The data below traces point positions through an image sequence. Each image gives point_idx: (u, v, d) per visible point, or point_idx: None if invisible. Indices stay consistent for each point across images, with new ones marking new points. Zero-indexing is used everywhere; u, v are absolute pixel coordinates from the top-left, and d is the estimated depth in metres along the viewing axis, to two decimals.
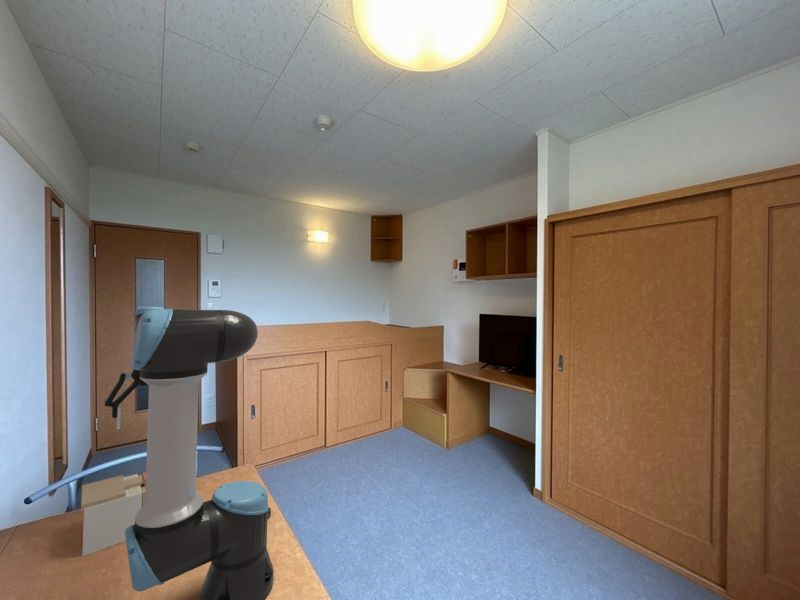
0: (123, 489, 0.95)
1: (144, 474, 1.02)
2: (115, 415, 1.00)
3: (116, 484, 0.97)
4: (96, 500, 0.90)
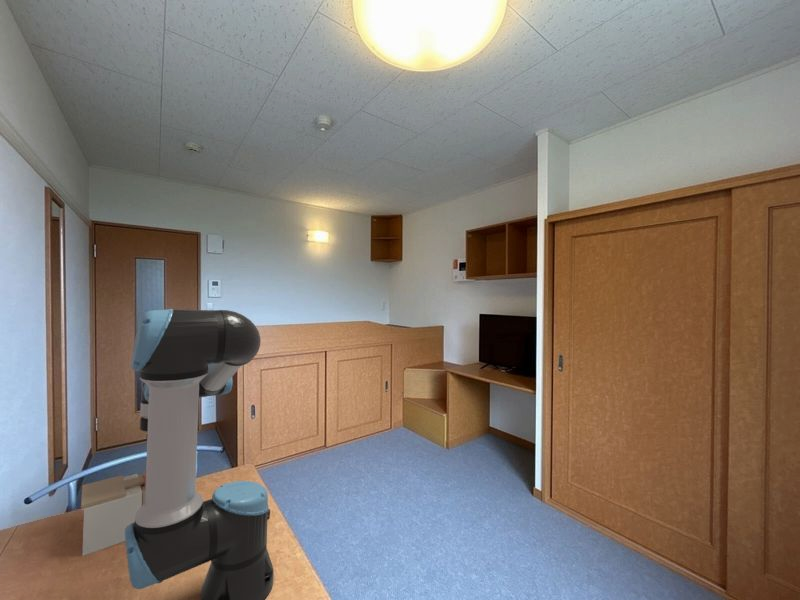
0: (123, 489, 0.95)
1: (144, 474, 1.02)
2: None
3: (116, 484, 0.97)
4: (96, 500, 0.90)
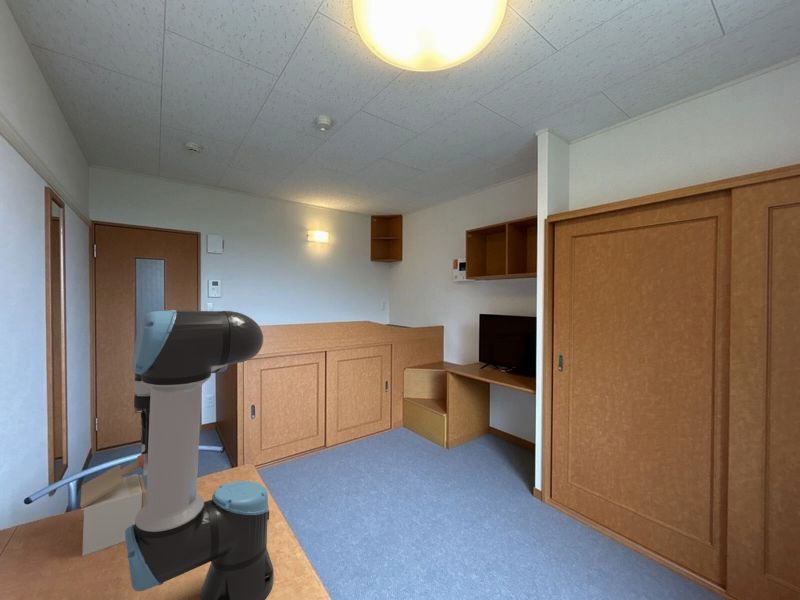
0: (119, 478, 0.94)
1: (138, 458, 1.01)
2: (143, 452, 1.04)
3: (113, 475, 0.97)
4: (94, 496, 0.89)
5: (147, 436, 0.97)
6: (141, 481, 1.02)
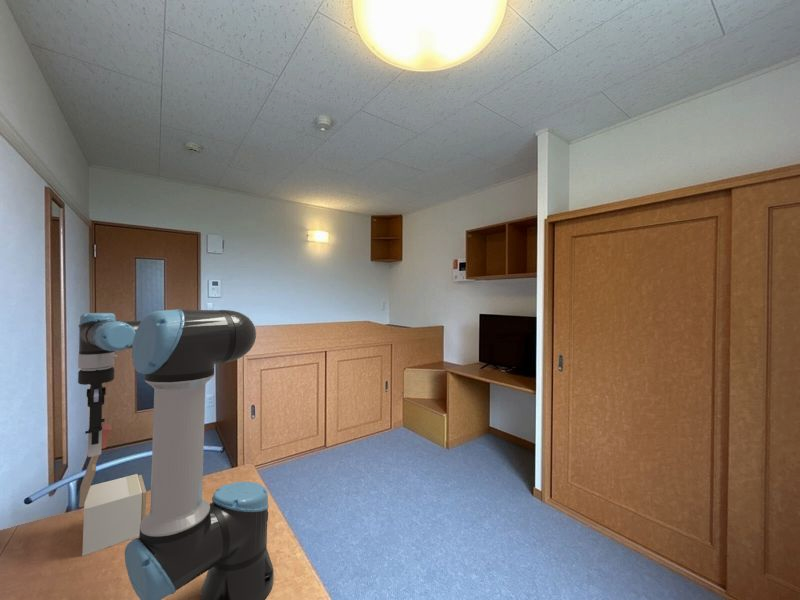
0: (91, 468, 0.91)
1: None
2: None
3: (89, 467, 0.94)
4: (83, 494, 0.88)
5: (90, 414, 0.89)
6: (141, 481, 1.02)
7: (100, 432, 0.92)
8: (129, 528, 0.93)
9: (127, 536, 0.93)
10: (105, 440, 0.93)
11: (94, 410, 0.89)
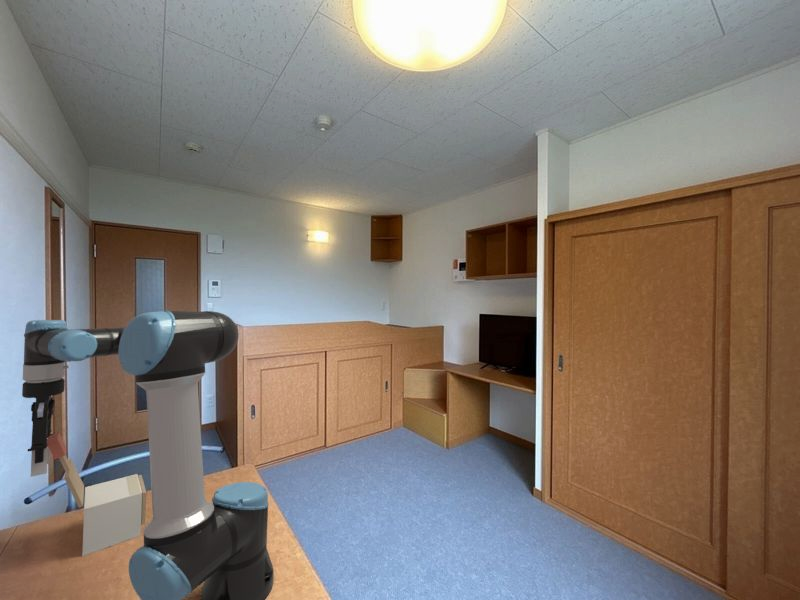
0: None
1: None
2: None
3: None
4: None
5: (33, 430, 0.82)
6: (141, 481, 1.02)
7: (45, 449, 0.85)
8: (129, 528, 0.93)
9: (127, 536, 0.93)
10: (59, 449, 0.87)
11: (38, 426, 0.82)
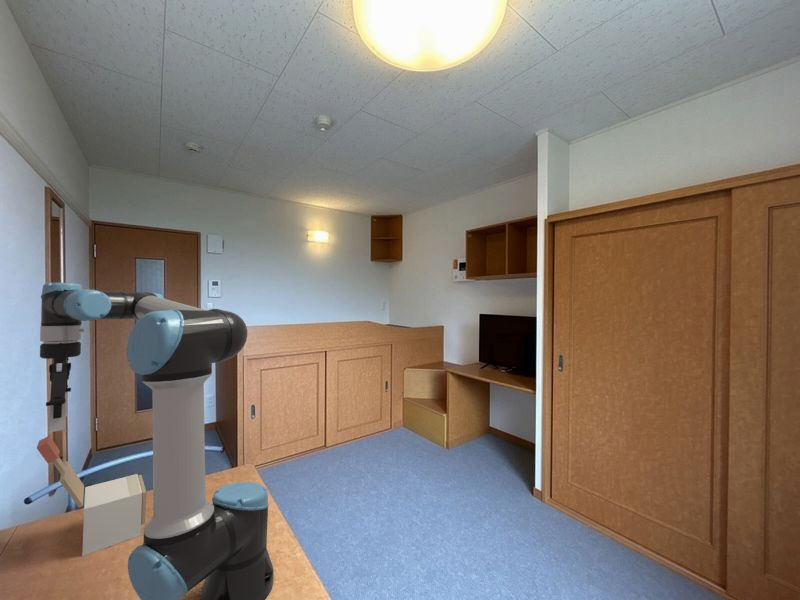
0: None
1: None
2: None
3: None
4: (73, 498, 0.86)
5: (52, 383, 0.81)
6: (141, 481, 1.02)
7: (63, 405, 0.83)
8: (129, 528, 0.93)
9: (127, 536, 0.93)
10: (51, 453, 0.86)
11: (57, 379, 0.82)
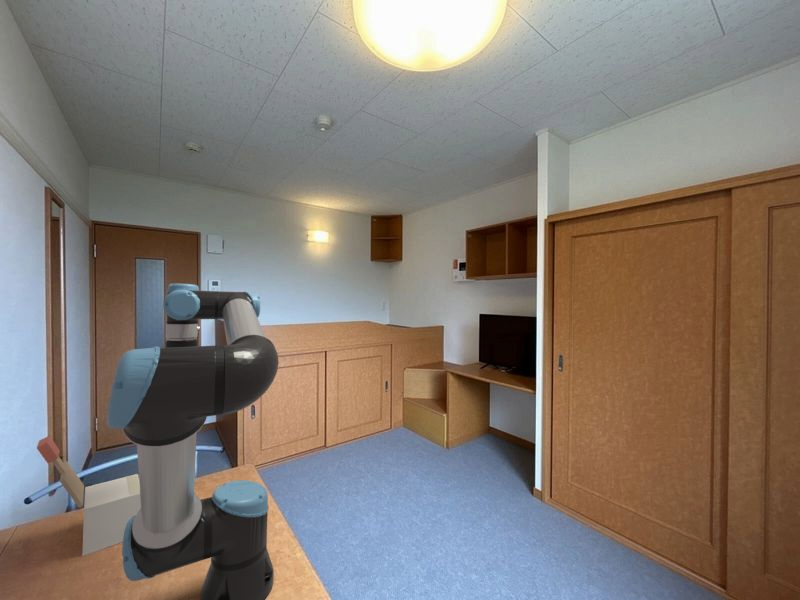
0: None
1: None
2: None
3: None
4: (73, 498, 0.86)
5: None
6: None
7: None
8: None
9: None
10: (51, 453, 0.86)
11: None
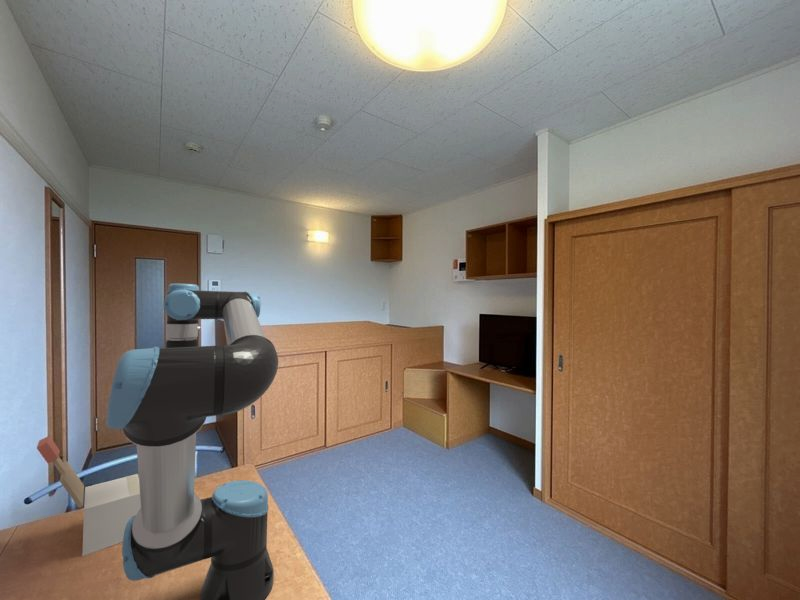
0: None
1: None
2: None
3: None
4: (73, 498, 0.86)
5: None
6: None
7: None
8: None
9: None
10: (51, 453, 0.86)
11: None
